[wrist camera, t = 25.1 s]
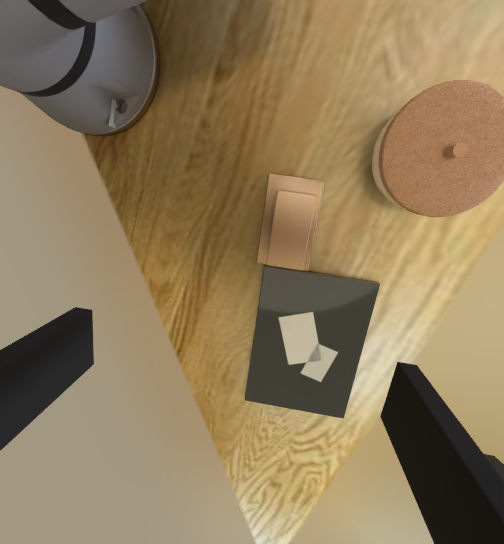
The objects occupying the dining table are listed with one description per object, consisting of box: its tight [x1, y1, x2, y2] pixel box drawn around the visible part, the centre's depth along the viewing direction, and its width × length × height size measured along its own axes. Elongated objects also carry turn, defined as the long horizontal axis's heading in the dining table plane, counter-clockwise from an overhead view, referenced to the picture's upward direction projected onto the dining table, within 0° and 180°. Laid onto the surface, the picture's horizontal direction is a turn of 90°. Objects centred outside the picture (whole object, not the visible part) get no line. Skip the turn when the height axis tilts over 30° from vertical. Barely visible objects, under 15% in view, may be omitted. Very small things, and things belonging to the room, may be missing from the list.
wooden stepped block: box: [257, 174, 325, 271], centre depth 31 cm, size 10×6×8 cm, turn 172°
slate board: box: [245, 265, 380, 418], centre depth 39 cm, size 20×14×1 cm
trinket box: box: [372, 80, 504, 217], centre depth 27 cm, size 11×11×9 cm
